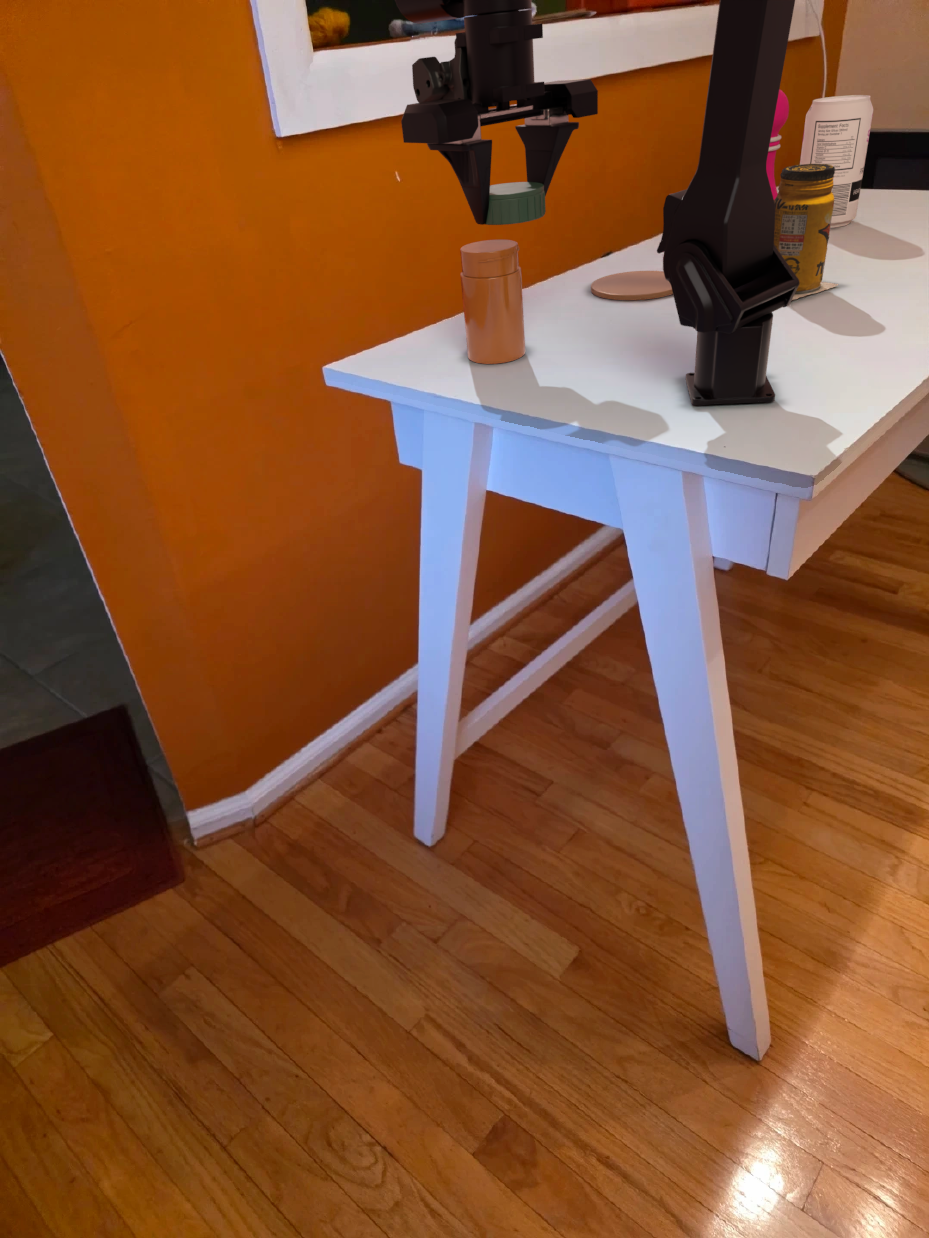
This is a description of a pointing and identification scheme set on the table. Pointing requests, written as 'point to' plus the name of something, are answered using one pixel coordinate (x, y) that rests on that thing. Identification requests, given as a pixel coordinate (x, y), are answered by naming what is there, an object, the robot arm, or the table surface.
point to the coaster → (632, 286)
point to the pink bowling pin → (776, 137)
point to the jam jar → (492, 301)
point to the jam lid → (515, 203)
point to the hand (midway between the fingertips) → (509, 217)
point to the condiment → (805, 223)
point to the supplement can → (839, 147)
